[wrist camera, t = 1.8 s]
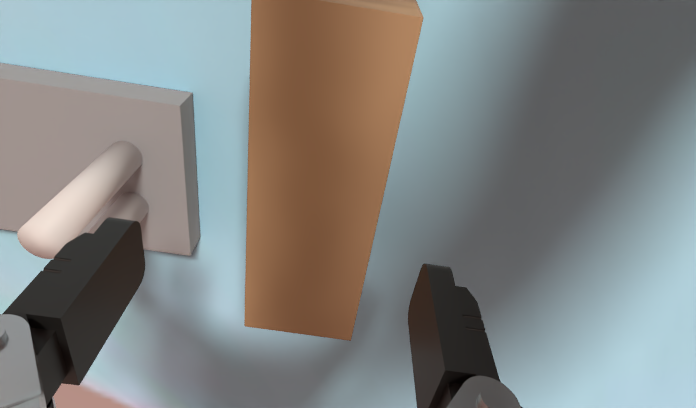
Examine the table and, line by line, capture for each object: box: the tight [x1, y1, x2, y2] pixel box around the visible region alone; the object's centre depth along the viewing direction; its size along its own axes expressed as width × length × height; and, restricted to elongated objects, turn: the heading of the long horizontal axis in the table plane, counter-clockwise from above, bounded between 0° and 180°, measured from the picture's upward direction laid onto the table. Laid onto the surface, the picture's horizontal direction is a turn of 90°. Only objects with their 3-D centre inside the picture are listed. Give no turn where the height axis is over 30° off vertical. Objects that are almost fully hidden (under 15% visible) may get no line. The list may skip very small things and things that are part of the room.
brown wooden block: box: [245, 0, 423, 341], centre depth 18 cm, size 4×13×6 cm, turn 172°
